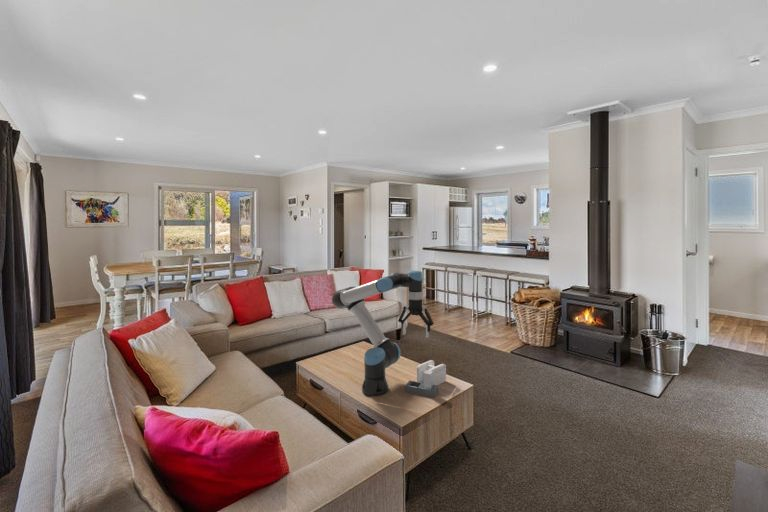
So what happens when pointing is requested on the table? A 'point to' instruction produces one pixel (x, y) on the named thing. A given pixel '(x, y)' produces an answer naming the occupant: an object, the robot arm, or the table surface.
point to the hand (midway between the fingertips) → (415, 335)
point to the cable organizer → (438, 372)
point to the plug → (428, 380)
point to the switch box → (420, 389)
